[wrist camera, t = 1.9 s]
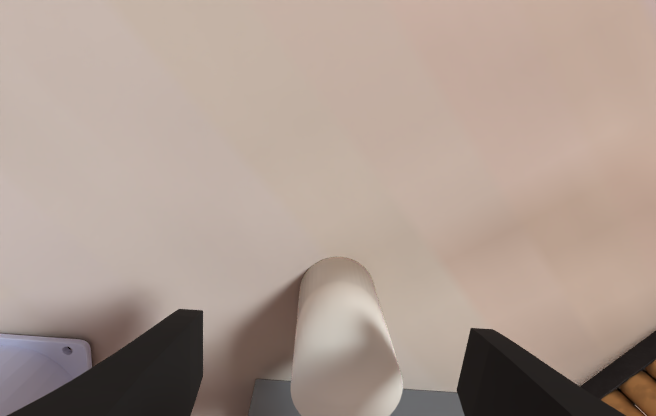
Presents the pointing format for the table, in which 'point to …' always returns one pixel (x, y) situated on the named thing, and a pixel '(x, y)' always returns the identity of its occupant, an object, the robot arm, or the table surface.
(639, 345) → the ammunition clip
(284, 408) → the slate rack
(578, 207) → the table surface
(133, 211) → the table surface
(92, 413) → the robot arm
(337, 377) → the white rounded egg shape
